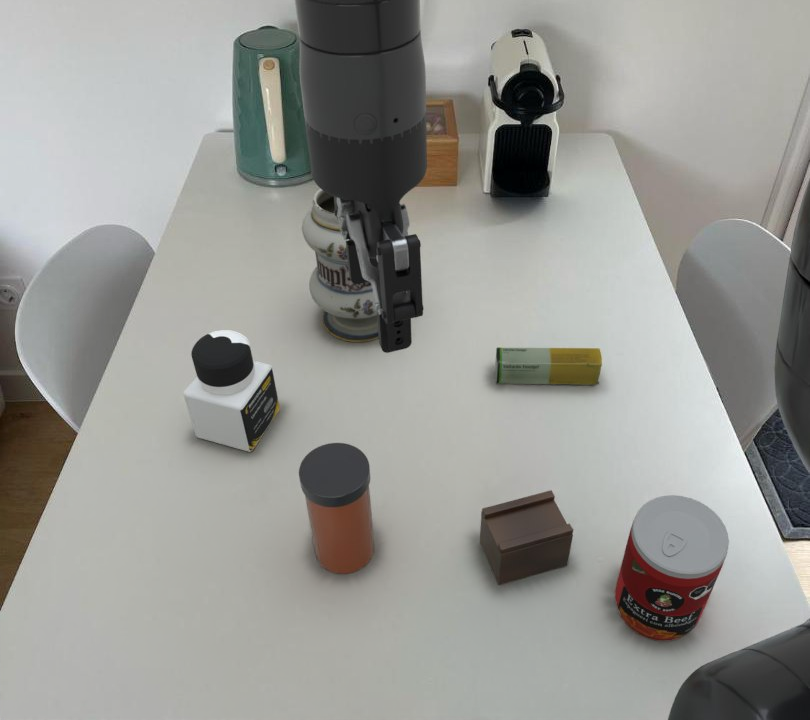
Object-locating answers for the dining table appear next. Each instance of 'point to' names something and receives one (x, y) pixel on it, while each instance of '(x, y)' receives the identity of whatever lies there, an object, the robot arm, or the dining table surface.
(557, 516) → the block
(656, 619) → the canned food
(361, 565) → the jar
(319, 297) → the apothecary jar
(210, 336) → the medicine bottle
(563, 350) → the medication box
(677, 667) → the dining table surface
